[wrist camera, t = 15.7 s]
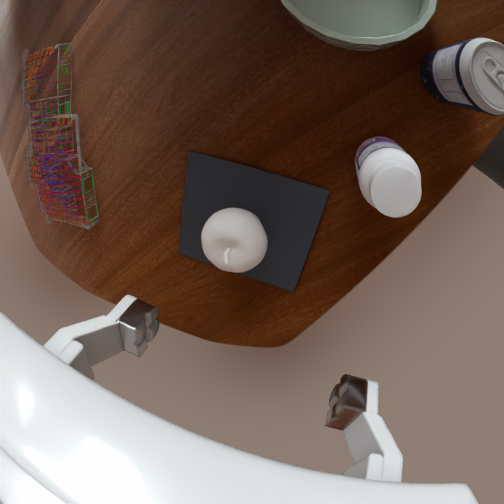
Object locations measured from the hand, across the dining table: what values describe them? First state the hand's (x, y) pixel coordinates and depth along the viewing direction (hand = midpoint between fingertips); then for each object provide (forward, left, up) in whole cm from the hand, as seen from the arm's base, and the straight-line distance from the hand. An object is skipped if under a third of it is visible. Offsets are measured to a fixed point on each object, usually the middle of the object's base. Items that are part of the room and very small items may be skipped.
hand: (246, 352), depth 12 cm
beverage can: (-10, -16, -23) cm, 30 cm away
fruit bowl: (+1, -21, -23) cm, 32 cm away
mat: (+6, +8, -23) cm, 25 cm away
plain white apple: (+6, +7, -23) cm, 25 cm away
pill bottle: (-6, -4, -23) cm, 25 cm away
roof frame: (+37, +2, -23) cm, 43 cm away
